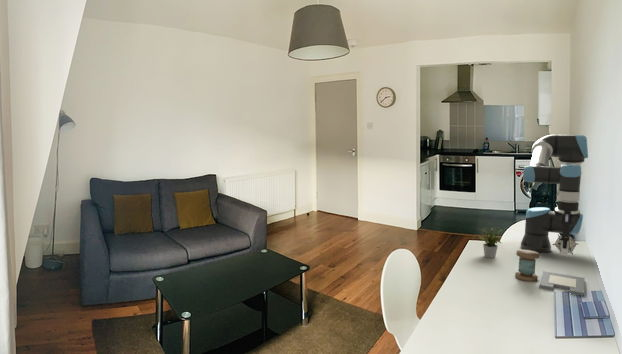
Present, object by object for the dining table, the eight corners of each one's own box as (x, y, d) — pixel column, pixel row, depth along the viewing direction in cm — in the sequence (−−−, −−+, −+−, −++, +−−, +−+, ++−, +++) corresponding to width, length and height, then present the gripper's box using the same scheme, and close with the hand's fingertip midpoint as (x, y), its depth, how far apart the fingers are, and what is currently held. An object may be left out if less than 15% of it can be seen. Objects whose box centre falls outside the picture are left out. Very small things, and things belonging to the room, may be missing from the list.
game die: (568, 263, 176) (576, 249, 169) (547, 252, 180) (555, 238, 173) (575, 249, 180) (583, 235, 173) (554, 239, 185) (562, 225, 178)
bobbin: (516, 273, 193) (518, 248, 192) (538, 277, 188) (540, 251, 187) (513, 279, 186) (515, 253, 184) (536, 283, 181) (538, 256, 179)
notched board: (543, 274, 192) (543, 270, 192) (584, 281, 183) (584, 277, 183) (539, 288, 175) (539, 284, 175) (584, 296, 166) (584, 292, 166)
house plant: (471, 258, 215) (472, 227, 213) (474, 251, 228) (475, 222, 226) (501, 262, 209) (502, 230, 207) (502, 254, 221) (504, 225, 219)
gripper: (559, 196, 185) (555, 245, 188) (556, 203, 168) (552, 257, 171) (579, 198, 181) (575, 248, 184) (578, 205, 164) (574, 260, 167)
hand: (564, 252), depth 177 cm, fingers closed on game die, 8 cm apart
